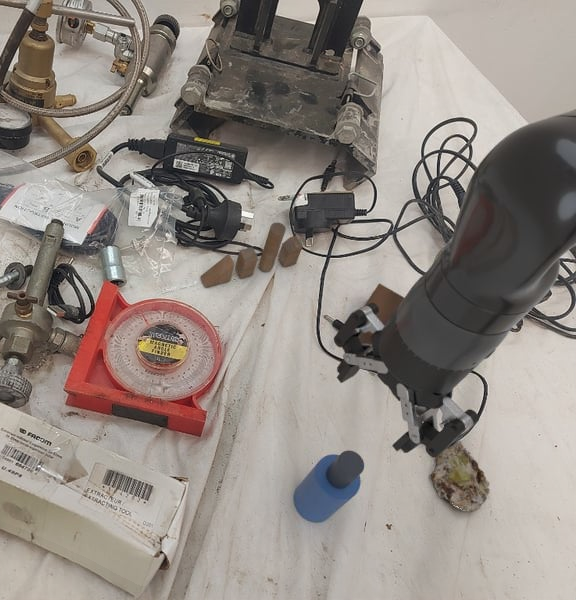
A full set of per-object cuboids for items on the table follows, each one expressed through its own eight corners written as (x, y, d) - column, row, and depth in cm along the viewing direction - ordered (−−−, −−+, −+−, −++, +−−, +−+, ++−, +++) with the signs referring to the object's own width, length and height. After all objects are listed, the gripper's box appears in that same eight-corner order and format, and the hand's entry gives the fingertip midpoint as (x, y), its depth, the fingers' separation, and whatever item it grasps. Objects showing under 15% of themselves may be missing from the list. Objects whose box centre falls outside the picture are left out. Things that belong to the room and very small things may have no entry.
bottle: (341, 510, 79) (385, 473, 66) (309, 530, 77) (347, 496, 64) (317, 474, 82) (355, 431, 69) (285, 492, 80) (317, 452, 67)
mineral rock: (507, 511, 78) (459, 504, 76) (483, 519, 82) (437, 513, 80) (482, 436, 85) (438, 428, 83) (461, 447, 88) (418, 439, 86)
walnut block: (422, 331, 97) (435, 315, 93) (398, 372, 92) (411, 357, 88) (368, 300, 100) (379, 283, 96) (342, 338, 95) (352, 322, 91)
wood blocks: (289, 254, 104) (304, 215, 96) (295, 265, 103) (311, 226, 95) (159, 287, 98) (163, 249, 90) (164, 299, 97) (168, 261, 88)
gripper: (350, 281, 48) (301, 371, 61) (479, 421, 42) (393, 488, 55) (414, 249, 51) (354, 342, 64) (545, 376, 44) (447, 450, 58)
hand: (372, 409), depth 60 cm, fingers open, 8 cm apart
